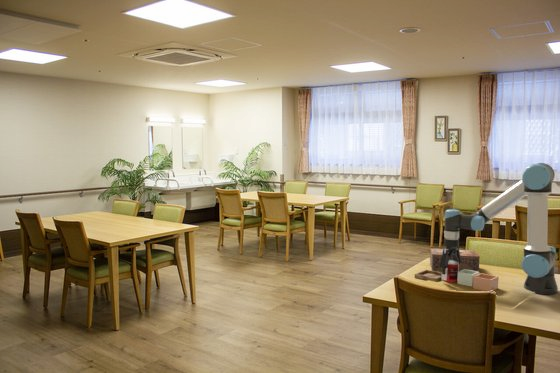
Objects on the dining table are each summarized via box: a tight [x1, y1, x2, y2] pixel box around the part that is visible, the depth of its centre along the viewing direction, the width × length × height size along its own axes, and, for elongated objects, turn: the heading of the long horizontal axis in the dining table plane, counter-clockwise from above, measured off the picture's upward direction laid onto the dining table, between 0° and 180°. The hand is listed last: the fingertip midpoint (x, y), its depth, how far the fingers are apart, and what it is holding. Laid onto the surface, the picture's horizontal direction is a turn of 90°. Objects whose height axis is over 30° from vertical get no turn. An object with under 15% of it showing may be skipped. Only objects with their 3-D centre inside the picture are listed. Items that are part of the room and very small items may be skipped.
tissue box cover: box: [429, 248, 480, 273], centre depth 284 cm, size 26×14×10 cm, turn 77°
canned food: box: [442, 260, 458, 284], centre depth 258 cm, size 8×8×11 cm
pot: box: [472, 272, 499, 292], centre depth 244 cm, size 9×9×7 cm
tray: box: [414, 269, 442, 282], centre depth 266 cm, size 13×13×2 cm
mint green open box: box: [456, 269, 480, 288], centre depth 253 cm, size 8×8×7 cm
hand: (450, 277), depth 258 cm, fingers open, 13 cm apart
